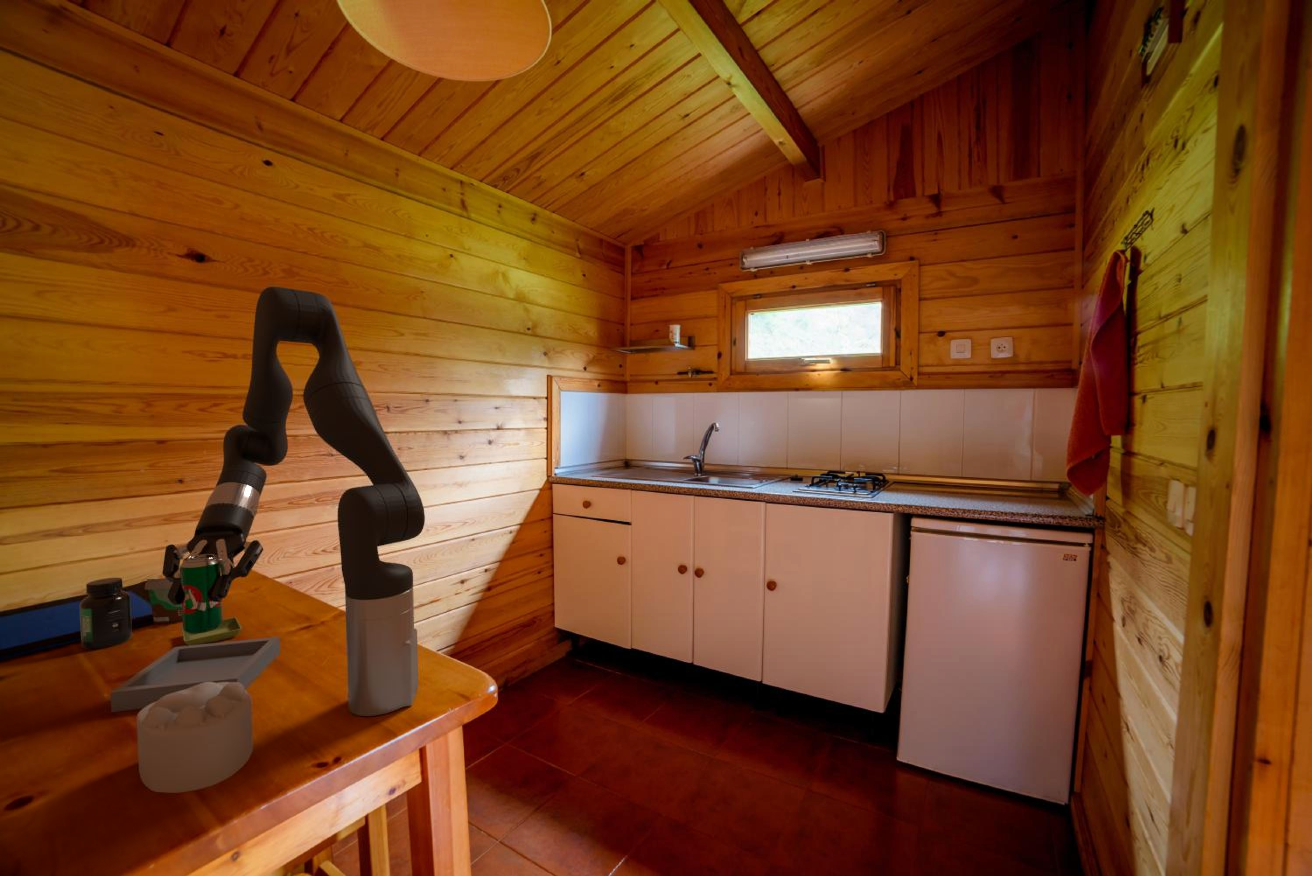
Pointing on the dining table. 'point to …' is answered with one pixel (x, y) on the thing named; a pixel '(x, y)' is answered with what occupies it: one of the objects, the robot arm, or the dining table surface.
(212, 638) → the green square dish
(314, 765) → the dining table surface
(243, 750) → the lumpy-topped squat cylinder
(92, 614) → the supplement bottle
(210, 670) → the tray
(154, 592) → the food container
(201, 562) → the soda can
